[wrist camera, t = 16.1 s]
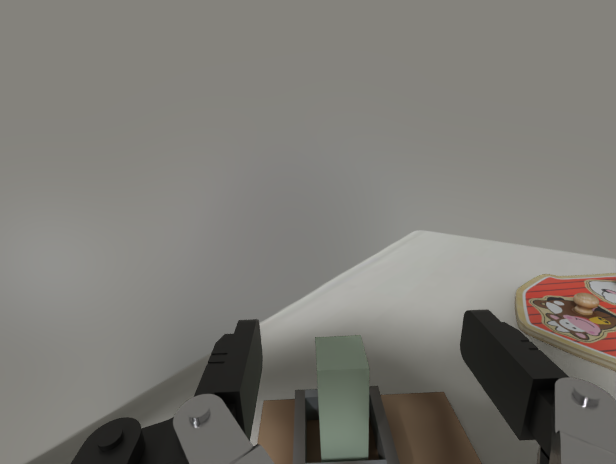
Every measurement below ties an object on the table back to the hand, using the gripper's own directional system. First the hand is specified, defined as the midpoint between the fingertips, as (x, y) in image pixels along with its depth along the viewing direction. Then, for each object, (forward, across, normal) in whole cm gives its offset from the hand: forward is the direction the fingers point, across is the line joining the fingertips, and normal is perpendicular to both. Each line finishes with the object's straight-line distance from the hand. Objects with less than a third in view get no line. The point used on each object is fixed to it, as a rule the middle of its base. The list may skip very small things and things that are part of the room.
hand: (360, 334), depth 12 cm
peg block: (+11, 0, +21) cm, 23 cm away
